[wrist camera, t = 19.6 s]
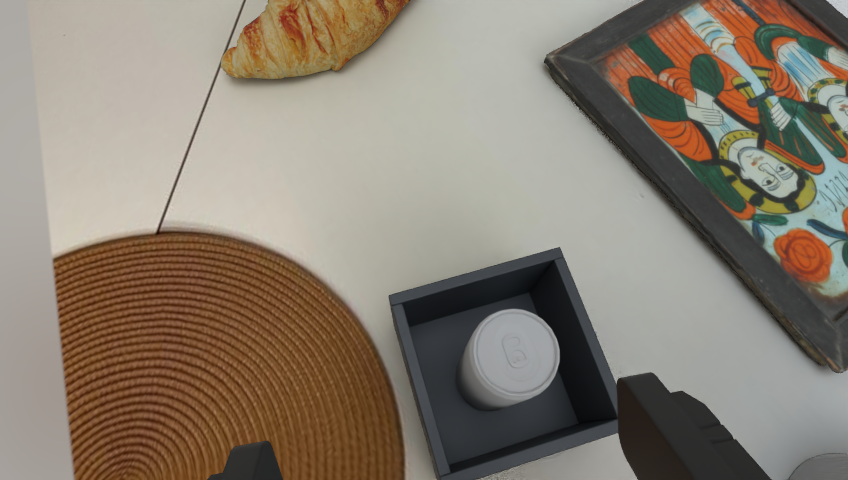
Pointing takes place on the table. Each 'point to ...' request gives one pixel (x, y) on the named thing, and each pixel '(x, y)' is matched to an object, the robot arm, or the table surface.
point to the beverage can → (507, 360)
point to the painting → (738, 138)
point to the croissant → (307, 36)
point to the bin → (520, 423)
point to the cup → (823, 468)
